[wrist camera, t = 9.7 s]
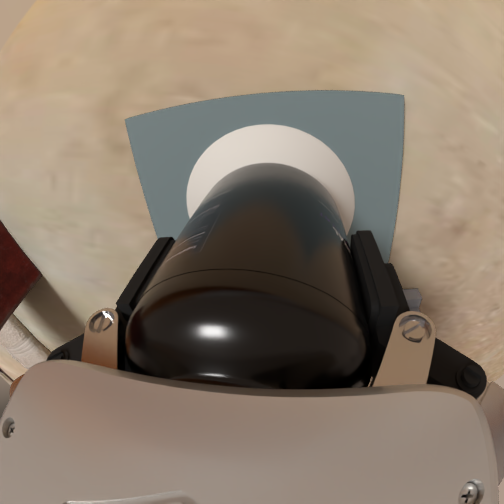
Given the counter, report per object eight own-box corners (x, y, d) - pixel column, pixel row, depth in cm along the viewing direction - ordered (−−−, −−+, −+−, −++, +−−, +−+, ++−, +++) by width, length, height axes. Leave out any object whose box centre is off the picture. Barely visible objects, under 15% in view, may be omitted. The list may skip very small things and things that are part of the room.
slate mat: (401, 94, 10) (404, 95, 10) (381, 285, 17) (382, 290, 17) (128, 118, 13) (123, 120, 12) (178, 288, 20) (176, 292, 19)
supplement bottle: (368, 213, 13) (445, 492, 3) (285, 296, 16) (264, 514, 7) (246, 127, 11) (46, 444, 1) (180, 237, 15) (71, 458, 5)
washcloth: (-8, 321, 35) (-15, 332, 33) (8, 303, 28) (-3, 317, 26) (32, 361, 41) (26, 372, 38) (61, 356, 34) (53, 371, 31)
